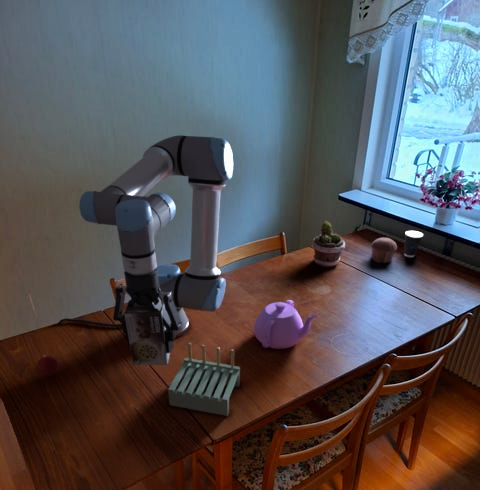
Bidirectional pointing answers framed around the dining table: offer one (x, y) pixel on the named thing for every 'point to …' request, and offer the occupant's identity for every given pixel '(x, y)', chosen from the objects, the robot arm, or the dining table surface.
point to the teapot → (281, 325)
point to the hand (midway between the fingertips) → (150, 346)
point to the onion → (47, 365)
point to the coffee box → (146, 335)
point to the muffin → (383, 250)
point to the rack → (204, 384)
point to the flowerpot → (327, 247)
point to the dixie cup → (412, 243)
